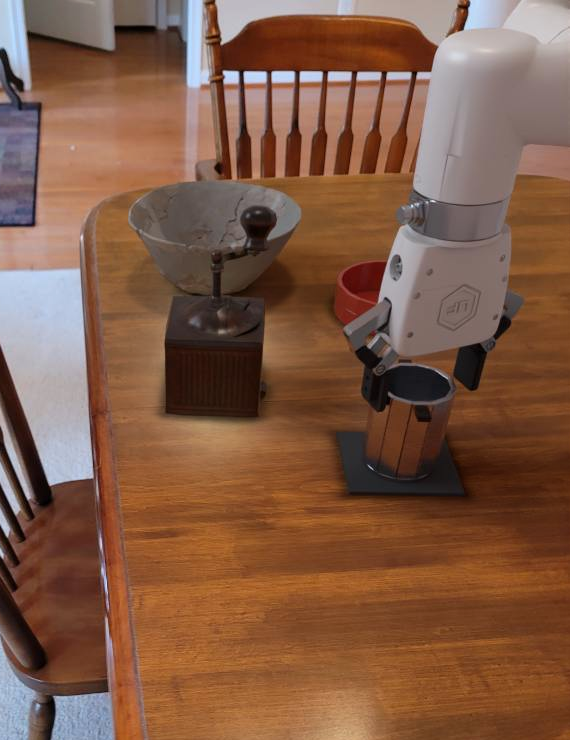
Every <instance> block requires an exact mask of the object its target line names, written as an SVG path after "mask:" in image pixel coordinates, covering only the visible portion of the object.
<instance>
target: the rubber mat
mask: <svg viewBox="0 0 570 740" xmlns="http://www.w3.org/2000/svg"><path fill="white" fill-rule="evenodd" d="M364 434H365V431H356V430H355V431H348V430H347V431H346V430H345V431H344V430H343V431H342V430H337V431H336V434H335V435H336V440H337V445H338V450H339V455H340V459H341V464H342V469H343V474H344V479H345V485H346V488H347V493H348V495H349V496H396V497H397V496H402V497H404V496H405V497H465V495H466V492H465V488H464V487H463V483H462V481H461V479H460V476H459V473H458V471H457V470H458V469H457V468H456V465H455V462H454V460H453V457H452V454H451V451H450V448H449V446H448V444H447V440H446V437H444V439H443V443H442V447H441V450H440V454H439V458H438V461H437V464H436V466H435V469H434V471H433V473H432V474H431V475H430V476H429V477H427V478H426V479H423V480H421V481H417V482H412V483H399V482H392V481H388V480H385V479H382V478H380V477H378V476H376V475H374V474H373V473H371V472H370V471H369V470H368V469H367V468H366V467H365V466H364V464H363V462H362V457H361V456H362V451H361V450H362V445H363V439H364Z"/></svg>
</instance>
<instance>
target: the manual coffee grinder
mask: <svg viewBox="0 0 570 740" xmlns="http://www.w3.org/2000/svg"><path fill="white" fill-rule="evenodd" d="M276 223H277V217H276V213H275V212H274V211H273V210H271V209H270V208H269V207H267V206H262V205H253V206H250V207H249V208H247V209H245V210H244V211H243V212H242V214H241V216H240V224H241V225H242V227H243V229H244V230H245V233H246V236H247V238H246V241H245V244H244V245H243V249H244V250H241V251H236V252H230V253H224V254H223V253H222V251H220V250H215V251H213V252H212V253H211V255H210V258H211V261H212V263H211V264H210V267H211V268H210V272H212V295H173V296H172V298H171V299H172V300H171V304H170V308H169V312H168V315H167V320H166V323H165V334H164V342H163V343H164V344H163V345H164V346H163V347H164V373H165V374H164V376H165V377H164V378H165V380H164V383H165V386H164V387H165V408H164V414H168V415H178V416H193V417H194V416H195V417H197V416H198V417H218V418H219V417H220V418H243V419H246V418H247V419H249V418H251V419H252V418H259V417H260V411H261V404H262V401H263V398H264V397H265V396H266V394H267V383H266V382H265V381H262V378H263V377H262V376H263V359H264V344H265V343H264V342H265V328H266V326H265V324H266V306H265V305H266V304H265V298H264V297H253V296H252V297H249V296H231V294H224V295H221V273H222V272H223V271H224V265H223V263H224V262H226V261H229V260H235V259H239V258H242V257H245V256H247V255H252V256H254V257H255V256H256V255H257V254H260V252H262V251H267V250H269V246H268V242H267V237H268V235H269V234H270V232H271V231H272V229H273V228H274V227H275V226H276Z"/></svg>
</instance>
